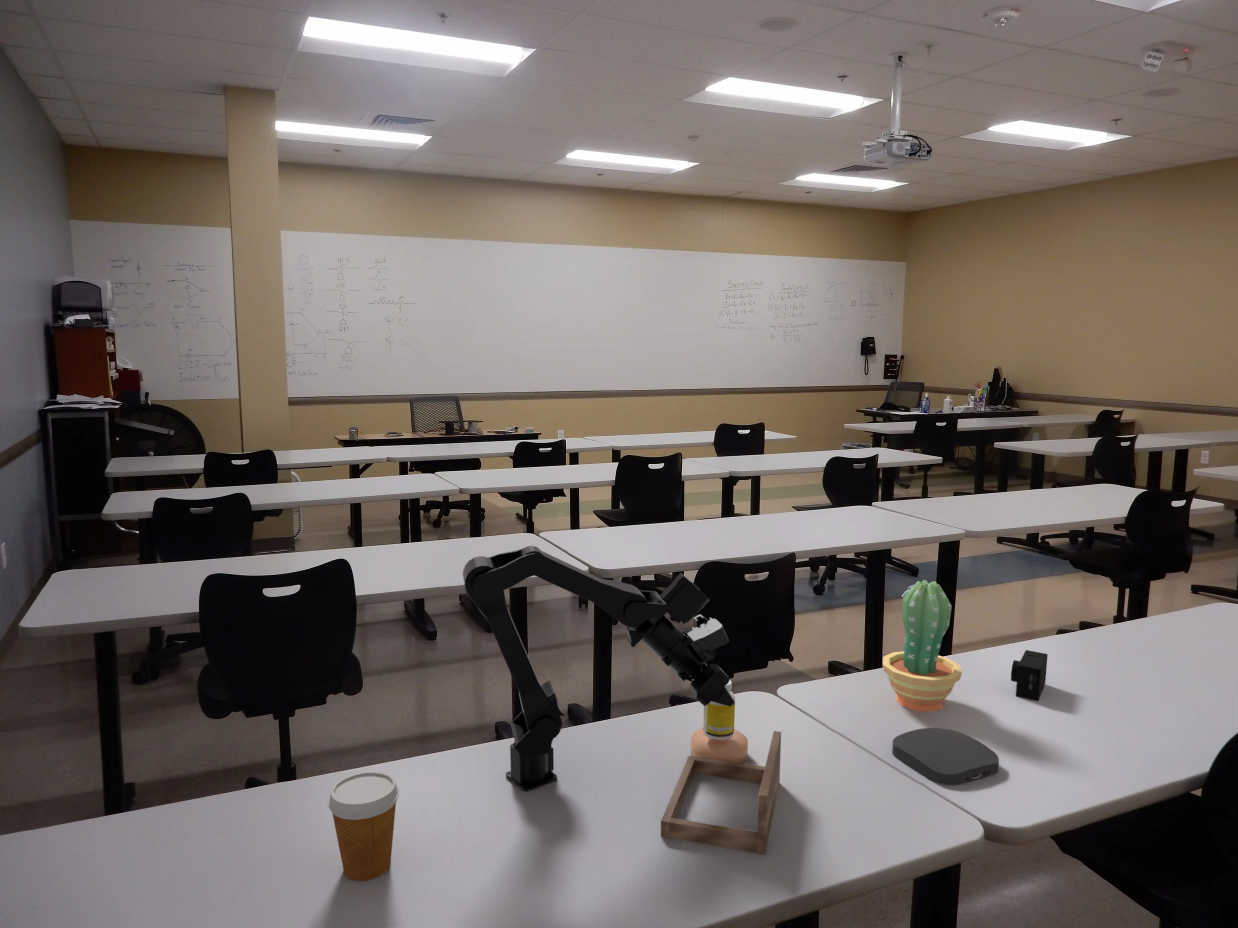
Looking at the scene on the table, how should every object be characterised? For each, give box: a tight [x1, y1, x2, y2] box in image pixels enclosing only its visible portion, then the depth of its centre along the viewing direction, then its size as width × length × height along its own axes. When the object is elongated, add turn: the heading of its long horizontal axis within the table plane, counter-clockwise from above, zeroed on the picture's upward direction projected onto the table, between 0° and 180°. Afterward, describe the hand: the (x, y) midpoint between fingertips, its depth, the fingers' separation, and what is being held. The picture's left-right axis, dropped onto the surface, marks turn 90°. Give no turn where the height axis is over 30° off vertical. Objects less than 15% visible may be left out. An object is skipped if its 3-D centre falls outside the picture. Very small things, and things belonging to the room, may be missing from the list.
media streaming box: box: [891, 727, 1000, 786], centre depth 147 cm, size 15×15×3 cm
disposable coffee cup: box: [327, 770, 400, 882], centre depth 116 cm, size 10×10×12 cm
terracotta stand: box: [690, 727, 749, 764], centre depth 148 cm, size 10×10×3 cm
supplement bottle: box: [702, 679, 736, 740], centre depth 147 cm, size 5×5×10 cm
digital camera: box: [1010, 649, 1048, 702], centre depth 176 cm, size 10×5×7 cm, turn 146°
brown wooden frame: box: [660, 730, 782, 855], centre depth 131 cm, size 15×20×9 cm
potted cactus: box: [882, 579, 963, 713], centre depth 169 cm, size 15×15×25 cm
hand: (726, 697), depth 147 cm, fingers closed on supplement bottle, 5 cm apart
